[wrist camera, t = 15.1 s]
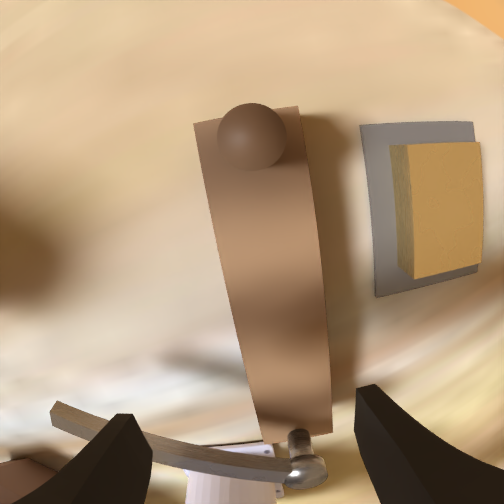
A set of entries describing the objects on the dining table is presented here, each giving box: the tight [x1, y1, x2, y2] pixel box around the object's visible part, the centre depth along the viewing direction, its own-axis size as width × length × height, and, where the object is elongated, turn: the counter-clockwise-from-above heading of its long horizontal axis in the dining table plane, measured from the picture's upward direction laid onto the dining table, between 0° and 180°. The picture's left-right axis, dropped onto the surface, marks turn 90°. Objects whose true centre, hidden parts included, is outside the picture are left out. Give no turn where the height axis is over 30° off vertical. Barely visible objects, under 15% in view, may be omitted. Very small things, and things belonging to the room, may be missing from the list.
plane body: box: [193, 103, 333, 445], centre depth 16 cm, size 19×4×6 cm, turn 10°
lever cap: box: [389, 142, 483, 279], centre depth 16 cm, size 7×5×2 cm
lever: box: [50, 401, 328, 489], centre depth 15 cm, size 15×2×4 cm, turn 74°
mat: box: [359, 121, 478, 298], centre depth 17 cm, size 10×8×1 cm
